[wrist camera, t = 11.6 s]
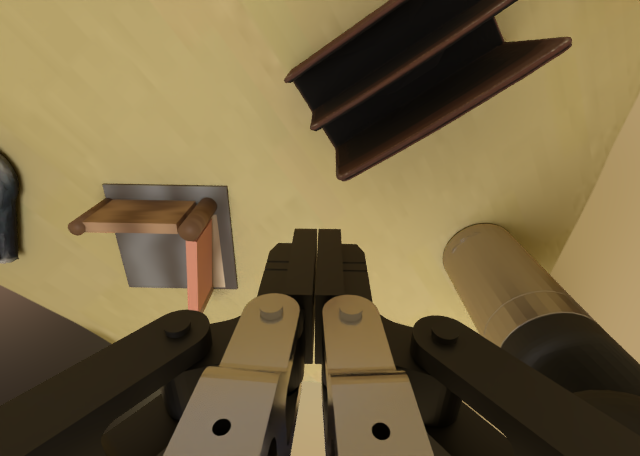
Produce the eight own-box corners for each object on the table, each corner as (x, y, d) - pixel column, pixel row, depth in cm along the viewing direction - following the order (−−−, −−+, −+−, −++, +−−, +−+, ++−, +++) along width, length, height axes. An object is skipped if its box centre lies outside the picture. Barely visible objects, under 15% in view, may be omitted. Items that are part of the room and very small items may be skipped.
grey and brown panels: (226, 186, 44) (209, 211, 38) (237, 287, 51) (224, 324, 44) (99, 183, 45) (59, 208, 38) (126, 285, 51) (96, 321, 45)
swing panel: (200, 217, 46) (182, 242, 40) (213, 219, 46) (197, 244, 40) (201, 292, 51) (186, 324, 45) (213, 293, 51) (199, 325, 45)
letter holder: (502, 47, 38) (591, 48, 25) (337, 150, 43) (342, 194, 30) (463, -54, 34) (545, -113, 21) (287, 72, 39) (269, 84, 26)
